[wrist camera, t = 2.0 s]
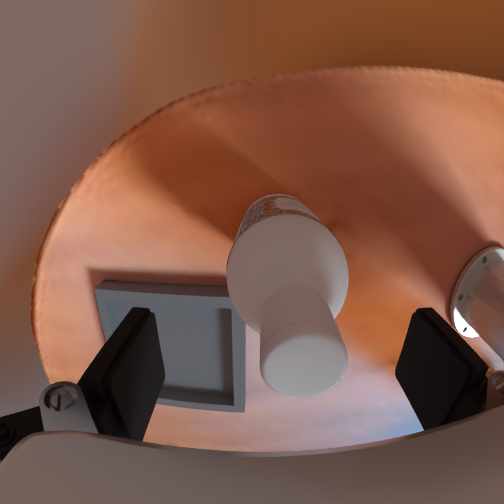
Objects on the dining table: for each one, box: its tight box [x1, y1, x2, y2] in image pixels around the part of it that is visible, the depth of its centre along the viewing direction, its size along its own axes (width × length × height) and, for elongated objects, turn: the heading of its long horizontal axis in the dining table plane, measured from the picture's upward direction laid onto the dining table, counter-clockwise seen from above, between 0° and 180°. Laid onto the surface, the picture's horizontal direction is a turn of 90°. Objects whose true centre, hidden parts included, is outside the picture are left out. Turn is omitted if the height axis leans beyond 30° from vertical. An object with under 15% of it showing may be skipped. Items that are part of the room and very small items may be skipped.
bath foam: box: [226, 194, 349, 398], centre depth 18 cm, size 7×7×20 cm
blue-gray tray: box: [94, 280, 246, 413], centre depth 31 cm, size 16×16×2 cm
